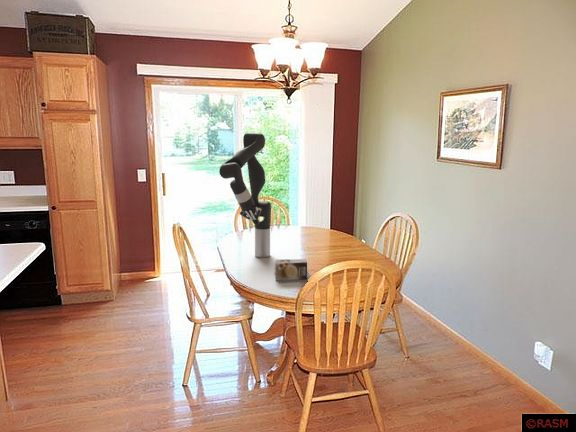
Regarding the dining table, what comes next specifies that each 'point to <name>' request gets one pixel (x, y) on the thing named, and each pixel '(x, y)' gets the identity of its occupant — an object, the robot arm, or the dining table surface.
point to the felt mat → (295, 280)
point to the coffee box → (291, 269)
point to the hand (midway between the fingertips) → (257, 224)
